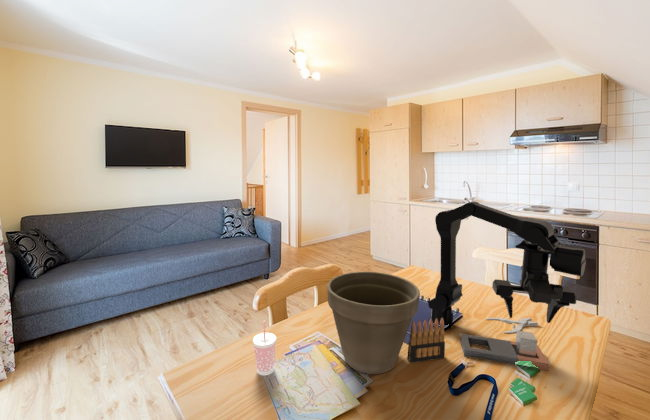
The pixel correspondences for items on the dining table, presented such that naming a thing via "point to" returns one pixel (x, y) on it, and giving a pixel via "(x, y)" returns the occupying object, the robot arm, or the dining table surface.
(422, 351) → the ammunition clip
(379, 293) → the plant pot
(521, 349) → the grey metal block
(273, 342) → the beverage cup
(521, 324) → the pliers
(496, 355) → the grey copper slotted plate
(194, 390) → the dining table surface
